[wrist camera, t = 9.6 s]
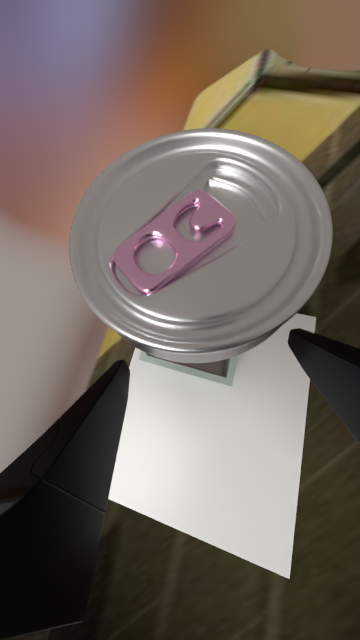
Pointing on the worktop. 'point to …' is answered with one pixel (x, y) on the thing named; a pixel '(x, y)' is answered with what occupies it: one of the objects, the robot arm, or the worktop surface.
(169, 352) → the beverage can
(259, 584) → the worktop surface
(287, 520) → the housing plate
